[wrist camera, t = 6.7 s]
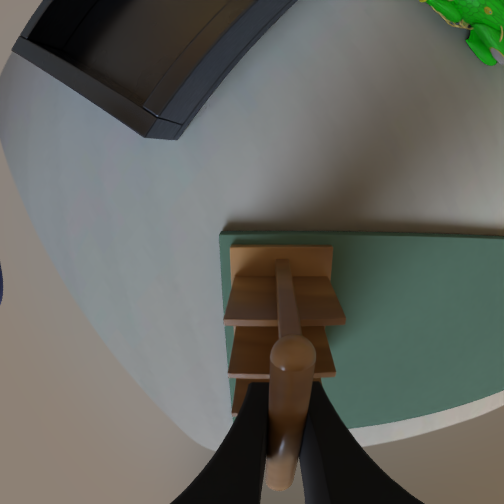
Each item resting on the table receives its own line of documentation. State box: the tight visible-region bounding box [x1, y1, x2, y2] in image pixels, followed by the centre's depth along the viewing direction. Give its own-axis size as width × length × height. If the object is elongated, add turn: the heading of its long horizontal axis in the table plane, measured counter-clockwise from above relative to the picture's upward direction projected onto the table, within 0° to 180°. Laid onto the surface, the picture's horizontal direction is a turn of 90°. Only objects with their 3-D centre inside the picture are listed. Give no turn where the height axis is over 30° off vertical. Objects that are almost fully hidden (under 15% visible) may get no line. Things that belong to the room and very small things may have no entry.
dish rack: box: [223, 245, 346, 491], centre depth 11 cm, size 8×4×8 cm, turn 1°
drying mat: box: [219, 231, 504, 429], centre depth 15 cm, size 34×14×1 cm, turn 91°
